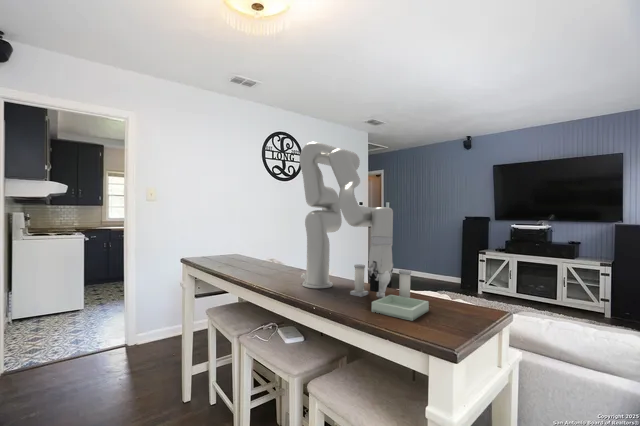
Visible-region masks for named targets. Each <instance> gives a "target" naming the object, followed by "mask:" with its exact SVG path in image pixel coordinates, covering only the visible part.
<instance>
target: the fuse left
mask: <svg viewBox="0 0 640 426" xmlns="http://www.w3.org/2000/svg"><path fill="white" fill-rule="evenodd" d="M365 268H366V264H357V263H356V264H354V289H353V290H351V291H349V295H351V296H355V297H365V296H368V295H369V290H365Z"/></svg>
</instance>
